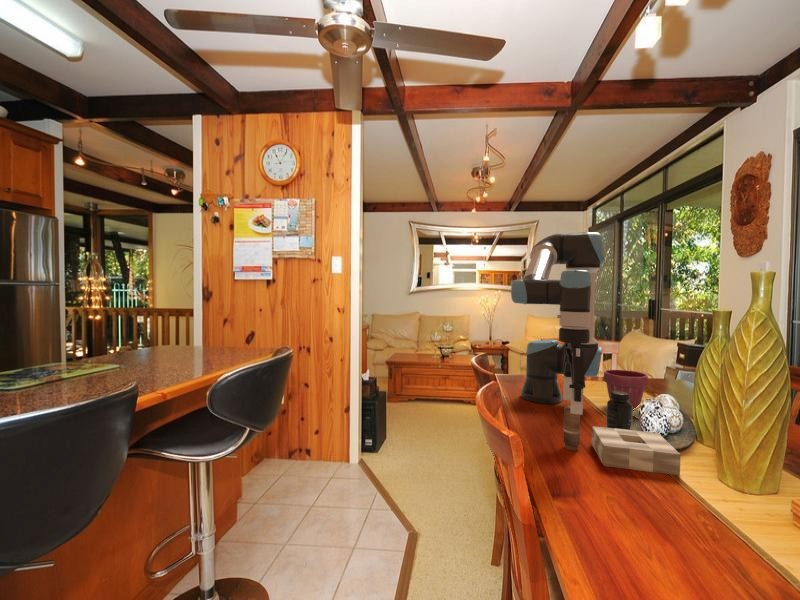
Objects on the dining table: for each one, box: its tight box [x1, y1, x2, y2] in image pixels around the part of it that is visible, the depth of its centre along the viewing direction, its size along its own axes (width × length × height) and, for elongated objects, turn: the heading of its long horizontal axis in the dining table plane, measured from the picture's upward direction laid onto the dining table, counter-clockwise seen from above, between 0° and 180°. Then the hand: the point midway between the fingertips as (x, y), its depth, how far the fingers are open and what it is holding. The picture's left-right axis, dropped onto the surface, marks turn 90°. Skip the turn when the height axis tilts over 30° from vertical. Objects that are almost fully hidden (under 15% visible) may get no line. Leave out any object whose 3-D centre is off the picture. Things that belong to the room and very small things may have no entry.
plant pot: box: [603, 369, 649, 409], centre depth 141 cm, size 14×14×13 cm
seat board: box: [591, 426, 681, 476], centre depth 97 cm, size 14×16×5 cm
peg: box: [562, 405, 581, 452], centre depth 103 cm, size 4×4×11 cm
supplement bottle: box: [605, 391, 634, 430], centre depth 116 cm, size 7×7×12 cm
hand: (572, 406), depth 103 cm, fingers open, 13 cm apart
